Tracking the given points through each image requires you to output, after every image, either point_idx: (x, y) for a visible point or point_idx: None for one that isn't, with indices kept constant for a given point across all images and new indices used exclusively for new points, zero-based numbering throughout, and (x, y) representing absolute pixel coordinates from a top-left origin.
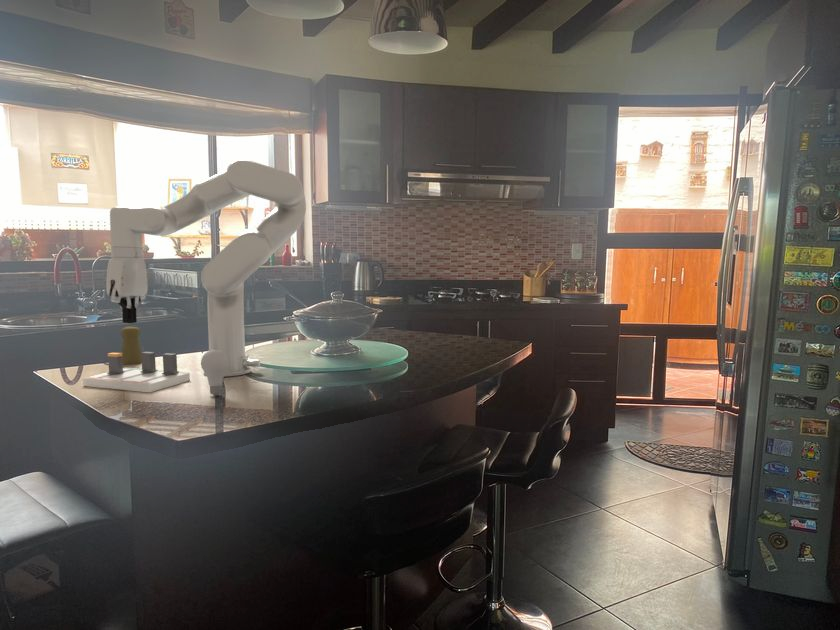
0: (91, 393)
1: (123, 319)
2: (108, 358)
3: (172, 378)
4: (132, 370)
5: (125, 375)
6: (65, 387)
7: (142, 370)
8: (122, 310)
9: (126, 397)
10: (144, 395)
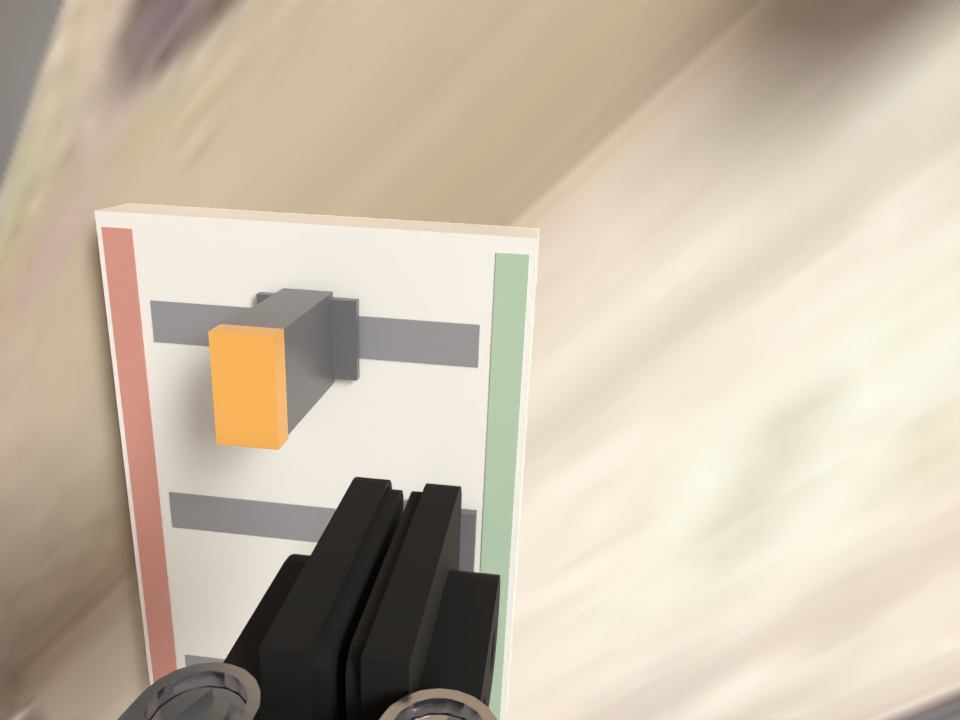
0: (24, 416)
1: (297, 556)
2: (232, 323)
3: None
4: (447, 374)
5: (284, 449)
6: (47, 107)
7: (404, 506)
8: (284, 608)
9: (55, 652)
10: (124, 708)
